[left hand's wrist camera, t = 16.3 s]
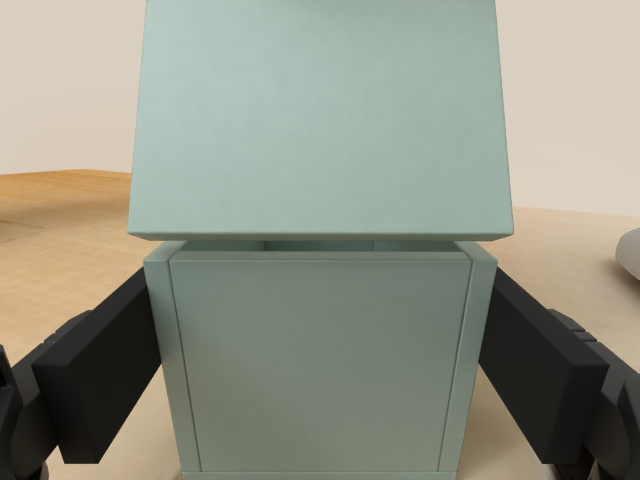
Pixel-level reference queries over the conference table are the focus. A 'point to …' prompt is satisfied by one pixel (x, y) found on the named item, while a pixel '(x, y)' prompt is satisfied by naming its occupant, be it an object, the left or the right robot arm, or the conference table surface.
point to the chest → (319, 355)
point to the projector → (630, 252)
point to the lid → (320, 122)
